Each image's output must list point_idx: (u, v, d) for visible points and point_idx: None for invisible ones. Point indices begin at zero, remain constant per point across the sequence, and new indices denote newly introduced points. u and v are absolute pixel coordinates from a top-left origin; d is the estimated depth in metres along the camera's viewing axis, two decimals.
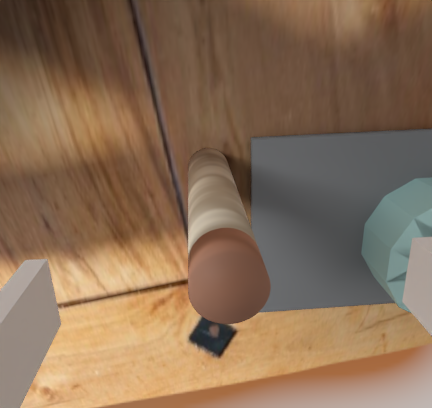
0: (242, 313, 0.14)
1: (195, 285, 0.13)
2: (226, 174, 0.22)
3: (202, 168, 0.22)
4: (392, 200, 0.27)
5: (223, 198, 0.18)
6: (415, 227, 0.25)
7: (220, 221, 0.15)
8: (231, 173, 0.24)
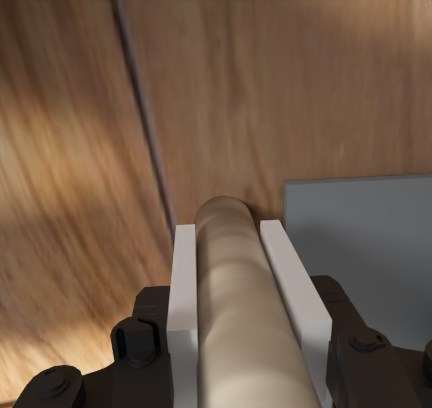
0: None
1: None
2: (257, 254, 0.14)
3: (218, 241, 0.14)
4: None
5: (262, 330, 0.09)
6: None
7: None
8: None
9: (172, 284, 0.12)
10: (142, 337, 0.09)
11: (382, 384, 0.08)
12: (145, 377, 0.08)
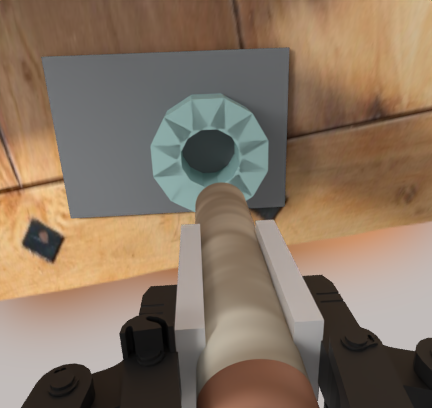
0: None
1: None
2: (249, 228, 0.16)
3: (216, 217, 0.17)
4: (167, 111, 0.32)
5: (249, 281, 0.12)
6: (167, 126, 0.30)
7: (251, 340, 0.09)
8: None
9: (179, 283, 0.12)
10: (151, 336, 0.09)
11: (373, 384, 0.08)
12: (154, 376, 0.08)
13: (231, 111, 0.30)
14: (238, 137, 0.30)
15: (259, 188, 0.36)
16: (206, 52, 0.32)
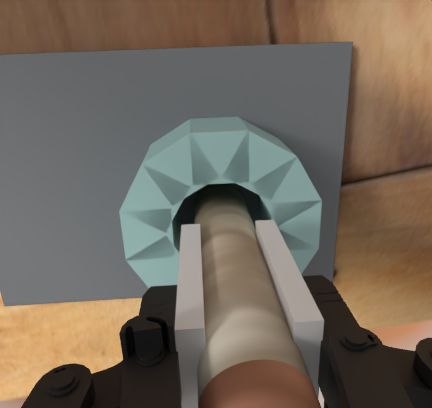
0: None
1: None
2: (249, 229, 0.16)
3: (216, 216, 0.17)
4: (151, 147, 0.20)
5: (252, 281, 0.12)
6: (147, 178, 0.17)
7: (255, 340, 0.09)
8: (252, 222, 0.18)
9: (179, 283, 0.12)
10: (151, 336, 0.09)
11: (373, 384, 0.08)
12: (154, 376, 0.08)
13: (261, 152, 0.17)
14: (271, 196, 0.18)
15: None
16: (215, 49, 0.19)
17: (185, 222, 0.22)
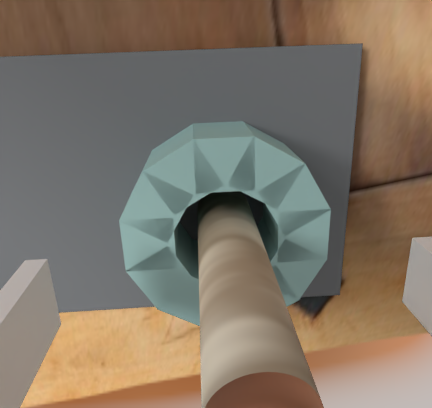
0: None
1: None
2: (254, 234, 0.16)
3: (220, 221, 0.16)
4: (152, 153, 0.19)
5: (257, 289, 0.11)
6: (148, 186, 0.16)
7: (261, 352, 0.09)
8: None
9: None
10: None
11: None
12: None
13: (267, 159, 0.16)
14: (277, 204, 0.17)
15: None
16: (219, 52, 0.18)
17: (187, 230, 0.21)
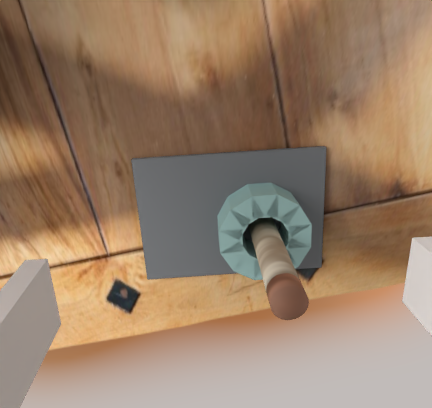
0: (294, 315, 0.29)
1: (274, 300, 0.28)
2: (278, 235, 0.37)
3: (263, 230, 0.38)
4: (229, 199, 0.40)
5: (281, 254, 0.33)
6: (232, 216, 0.38)
7: (283, 269, 0.30)
8: None
9: None
10: None
11: None
12: None
13: (283, 203, 0.38)
14: (288, 222, 0.38)
15: None
16: (260, 152, 0.40)
17: (243, 234, 0.43)
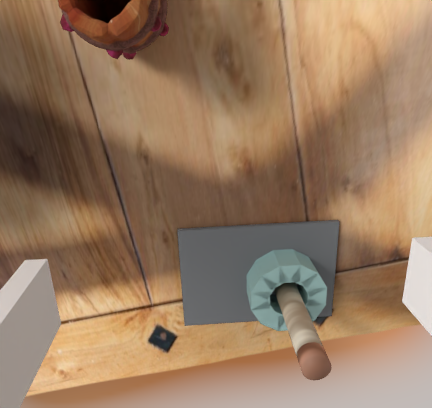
0: (319, 376, 0.37)
1: (305, 366, 0.37)
2: (300, 299, 0.45)
3: (287, 293, 0.46)
4: (258, 263, 0.48)
5: (306, 321, 0.41)
6: (262, 281, 0.46)
7: (310, 337, 0.39)
8: None
9: None
10: None
11: None
12: None
13: (304, 271, 0.46)
14: (307, 286, 0.46)
15: None
16: (284, 225, 0.48)
17: None
